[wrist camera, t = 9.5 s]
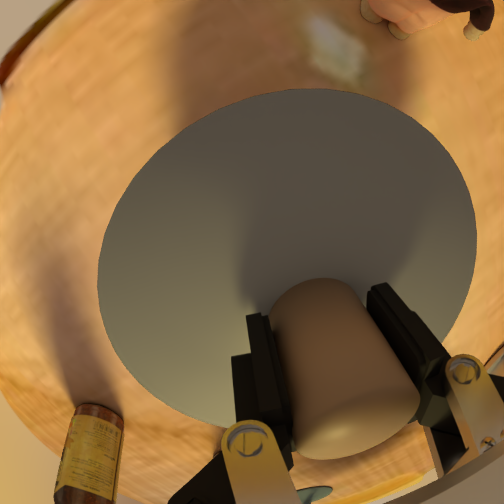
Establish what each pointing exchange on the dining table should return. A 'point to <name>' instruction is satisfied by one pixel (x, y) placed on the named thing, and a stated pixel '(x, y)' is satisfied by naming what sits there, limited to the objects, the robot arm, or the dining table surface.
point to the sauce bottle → (90, 457)
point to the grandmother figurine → (428, 14)
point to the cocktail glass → (313, 494)
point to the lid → (288, 259)
